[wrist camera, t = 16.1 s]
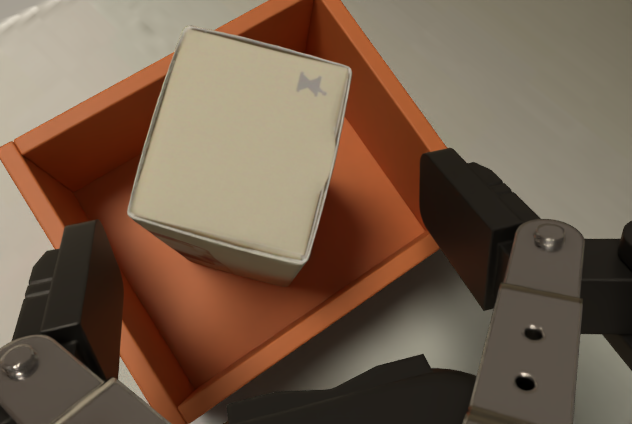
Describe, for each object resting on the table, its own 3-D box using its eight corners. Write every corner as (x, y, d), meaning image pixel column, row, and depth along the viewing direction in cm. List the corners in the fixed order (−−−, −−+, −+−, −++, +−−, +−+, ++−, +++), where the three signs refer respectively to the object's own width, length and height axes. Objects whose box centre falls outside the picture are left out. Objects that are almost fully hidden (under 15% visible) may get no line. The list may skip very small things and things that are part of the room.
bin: (306, 48, 25) (320, -29, 20) (440, 238, 24) (493, 211, 18) (57, 192, 23) (-7, 149, 17) (191, 410, 22) (169, 438, 16)
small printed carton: (216, 144, 23) (185, 10, 13) (319, 172, 23) (363, 58, 14) (179, 267, 22) (116, 217, 12) (288, 295, 22) (311, 268, 12)
